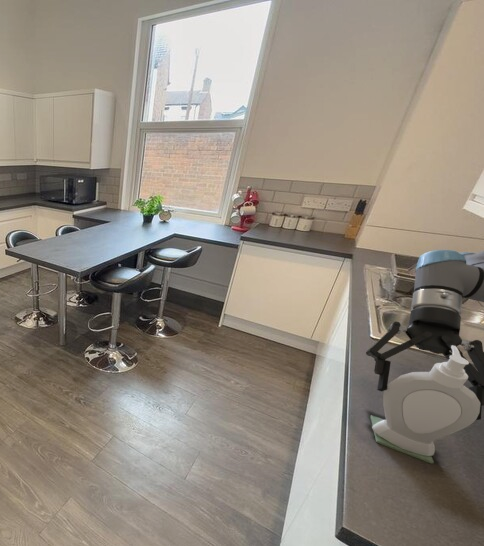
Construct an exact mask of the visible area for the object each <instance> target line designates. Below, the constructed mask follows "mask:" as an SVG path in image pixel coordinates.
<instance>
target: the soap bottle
mask: <svg viewBox="0 0 484 546" xmlns="http://www.w3.org/2000/svg"><path fill="white" fill-rule="evenodd" d="M451 348H452V352H451V353H452V355H450V356H449V358H450V359H447V361H443V362H436V363H434V364H433V366H432V368H431V370H429V371H411V372H408V373H405V374H401V375H399V376H398V377H396V378H395V379H393V380H392V381H391V382H389V383H388V384H387V390H384V391H383V394H382V404H383V405H382V406H383V411H384V416H385V419H383V420H382V421H380V422H378V423H376V424H375V425H373V426H372V425H371V429H372V431H373V430H374V431H373V433H374V432H376V433H377V434H378V435H379V436H381V437H382V438H384V439H385V440H387V441H389V442H390V443H392V444H394V445H396V446H398V447H400V448H402V449H405V450H408V451H410V452H413V453H417V454H421V455H425V456H431V457H432V456H434V455H435V453H436V451H435V450H436V447H435V443H434V442H435V441H438V440H440V439H443V438H446V437H448V436H451V435H453V434H455V433H457V432H459V431H462V430H463V429H466V428H468V427H469V426H470V425H472V424H474V423H475V421H477V420H476V419H477V417H478V415H479V413H480V401H479V400H478V398H477V396H476V395H475V393H474V392H473V391H471V390H470V389H469V387H467V386H466V385H464V384H465V383H466V382H467V381H468V375H467V374H466V373H465V370H464V369H463V368H464V367H465V365H467V364H469V362H470V361H469V360H468V359H467V358H466V359H467V360H468V361H469V362H468V361H467V360H466V359H464V358H462V357H461V355H460V353H459V350H460V349H459V348H458V346H457V347H456V346H453V345H452V346H451ZM457 348H458V349H459V350H458V349H457Z"/></svg>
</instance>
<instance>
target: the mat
mask: <svg viewBox="0 0 484 546" xmlns="http://www.w3.org/2000/svg"><path fill="white" fill-rule="evenodd" d="M369 417H370V422H371V427H372V426H373V425H375V424H376V423H378V422H380V421H382V420H384V419H383V418H381V417H377V416H374V415H370V416H369ZM372 431H373V434H374V439H375V443H377V444H378V445H382V446H385V447H387V448H390V449H392V450H394V451H398V452H400V453H403V454H405V455H408V456H410V457H413V458H416V459H419V460H421V461H423V462H426V463H428V464H431V465H433V464H434V463H435V461H434V459H433V457H432V456H425V455H421V454H417V453H413V452H410V451H408V450H405V449H402V448H400V447H398V446H396V445H394V444H392V443H390V442H389V441H387V440H385V439H384V438H382V437H381V436H379V435H378V434H377V433H376V432H374V430H373V429H372Z"/></svg>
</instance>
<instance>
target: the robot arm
mask: <svg viewBox="0 0 484 546" xmlns="http://www.w3.org/2000/svg"><path fill="white" fill-rule="evenodd" d="M414 273H415V275H414V276H415V277H414V285H413V286H414V287H413V292H412V299H411V305H410V309H411V311H410V315H409V321H408V326H406V325H403V324H401V322H399V321H393V322H392V323H391V324H390V325H389V326H388V328H387V331H386V333H385V334H383V336H381V337H380V338H379V339H378V340H377V341H376V342H375V343H374V344H373V345H372V346H371V347H369V349H368V350H366V352H365V354H366V356H368V357H371V358H373V361H374V368H373V372H374V374H375V375H379V376H378V382H377V388H376V390H377V391H379V392H384V390H387V386H388V385H389V376H390V370H391V363H392V361H391V360H387V359H389V358H391V357H393V356H395V355H397V354H399V353H402V352H404V351H406V350H408V349H410V348H411V347H413V346H414V347H416V348H418V350H420V351H427V352H431V353H433V354H436V355H439V354H442V355H443V356H444V357H445V358H446V360H449V359H450V358H449V356H450V355H452V348H451V346H452V345H453V346H456V347H457V349H458V350H459V353H460V355H461V357H462V358H464V359H466V360H467V361H468V362H469V364H467V365H465V367H464V368H463V369H464V370H465V373H466V374H467V375H468V379H467V381H468V382H469V383H470V385H472V386H468V389H470V390H471V391H473V392H474V393H475V395H476V396H477V398H478V400H479V401H480V413H479V415H478V417H477V419H476V420H475V421H479V420H482V408H483V407H484V347H483V342H482V341H481V340H479V339H475V340H468V339H462V338H461V336H460V333H461V323H462V322H461V321H462V316H461V314H462V309H463V308H462V307H463V299H466V300H467V299H468V300H473V301H477V302H482V303H484V250H482V251H479V252H476V253H475V252H459V251H457V250H451V249H435V250H430V251H427V252H424V253H423V254H421V255H420V256H419V257H418V260H417V263H416V267H415V270H414ZM403 332H404V333H405V334H406V336H407V337H408V339H409V340H407V341H404V342H403V343H401V344H398V345H396V346H394V347H393V348H390V349H389V350H387V351H384V352H382V353H380V352H379V351H380V350H381V349H382V348H383V347H384V346H385V345H386V344H387V343H389V342H390V341H391V339H393V338H394V337H395V336H396V335H400V334H401V333H403ZM459 346H461V347H463V350H464V351H466V352H467V355H468V357H469V359H470V361H471V362H472V363H471V362H470V361H469V360H468V359H467V358H466V357H465V356H464V355H463V351H462V350H460V348H459ZM473 365H474V366H473ZM482 406H483V407H482Z"/></svg>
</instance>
